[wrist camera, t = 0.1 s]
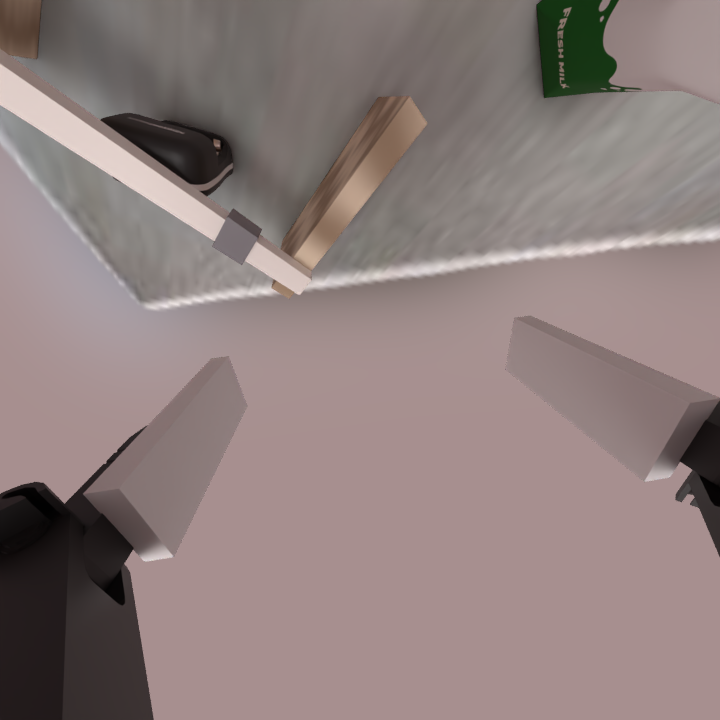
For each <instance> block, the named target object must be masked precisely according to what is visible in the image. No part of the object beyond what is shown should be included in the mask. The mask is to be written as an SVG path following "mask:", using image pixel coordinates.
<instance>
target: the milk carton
mask: <svg viewBox="0 0 720 720" xmlns="http://www.w3.org/2000/svg"><path fill="white" fill-rule="evenodd" d="M537 15H538V27H539V39H540V51H541V63H542V76H543V88H544V98H549V97H558V96H568V95H577V94H586V93H596V92H641V91H684V92H687V93H689V94H692V95H695V96H698V97H701V98H703V99H706V100H709V101H712V102H714V103H717V104H720V0H542V1H541V2H540V3H538V4H537Z"/></svg>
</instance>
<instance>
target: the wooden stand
mask: <svg viewBox="0 0 720 720" xmlns="http://www.w3.org/2000/svg"><path fill="white" fill-rule="evenodd" d="M41 1H42V0H0V49H1V50H3V51H4V52H6V53H7V54H8V55H12V56H19V57H26V58H33V59H37V54H38V41H39V27H40V14H41ZM426 125H427V122H426V120H425V119H424V117H423V116H422V114H421V113H420V111H419V110H418V108H417V107H416V105H415V104H414V102H413V101H412V99H411V97H410V96H399V97H378V99H377V100H376V102H375V103H374V105H373V106H372V108H371V109H370V111H369V112H368V114H367V115H366V117H365V118H364V120H363V121H362V123H361V124H360V126H359V127H358V129H357V130H356V132H355V133H354V135H353V136H352V138H351V139H350V141H349V142H348V144H347V145H346V147H345V148H344V150H343V151H342V153H341V154H340V156H339V157H338V159H337V160H336V162H335V163H334V165H333V166H332V168H331V169H330V171H329V172H328V174H327V175H326V177H325V178H324V180H323V181H322V183H321V184H320V186H319V187H318V189H317V190H316V192H315V193H314V195H313V196H312V198H311V199H310V201H309V202H308V204H307V205H306V206H305V208H304V209H303V211H302V212H301V214H300V215H299V217H298V218H297V220H296V221H295V223H294V224H293V226H292V227H291V229H290V230H289V232H288V233H287V235H286V236H285V238H284V239H283V241H282V246H281V250H282V251H284V252H285V253H286V254H288V255H289V256H291V257H292V258H293V259H295V260H296V261H298V262H299V263H300V264H302V265H303V266H305V267H306V268H307V269H309V270H310V271H312V269H313V268H314V267H315V266H316V264H317V263H318V262H319V261H320V259H321V258H322V257H323V256H324V254H325V253H326V252H327V250H328V249H329V248H330V247H331V245H332V244H333V243H334V242H335V240H336V239H337V238H338V237H339V235H340V234H341V233H342V231H343V230H344V229H345V228H346V226H347V225H348V224H349V223H350V221H351V220H352V219H353V217H354V216H355V215H356V214H357V212H358V211H359V210H360V209H361V207H362V206H363V205H364V204H365V202H366V201H367V200H368V198H369V197H370V196H371V195H372V193H373V192H374V191H375V190H376V188H377V187H378V186H379V185H380V183H381V182H382V181H383V179H384V178H385V177H386V176H387V174H388V173H389V172H390V171H391V169H392V168H393V167H394V166H395V164H396V163H397V162H398V160H399V159H400V158H401V157H402V155H403V154H404V153H405V152H406V150H407V149H408V148H409V146H410V145H411V144H412V143H413V141H414V140H415V139H416V138H417V136H418V135H419V134H420V133H421V131H422V130H423V129H424V127H425V126H426ZM272 289H274V290H276V291H277V292H279V293H280V294H282V295H284V296H285V297H287V298H290V297H291V296H292V295H293V294H294V292H293V291H292V290H290V289H289V288H287V287H286V286H284V285H282V284H281V283H279V282H278V281H276V280H275V279H273V284H272Z"/></svg>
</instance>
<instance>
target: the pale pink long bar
mask: <svg viewBox="0 0 720 720" xmlns="http://www.w3.org/2000/svg"><path fill="white" fill-rule="evenodd" d="M0 105H1V106H3V107H4V108H6V109H8V110H9V111H11V112H12V113H14V114H15V115H17V116H19V117H20V118H22V119H23V120H25V121H26V122H28V123H30V124H31V125H33V126H34V127H36V128H37V129H39V130H41V131H42V132H44V133H45V134H47V135H48V136H50V137H52V138H53V139H55V140H56V141H58V142H59V143H61V144H63V145H64V146H66V147H67V148H69V149H70V150H72V151H74V152H75V153H77V154H78V155H80V156H81V157H83V158H85V159H86V160H88V161H89V162H91V163H92V164H94V165H96V166H97V167H99V168H100V169H102V170H103V171H105V172H107V173H108V174H110V175H111V176H113V177H114V178H116V179H118V180H119V181H121V182H122V183H124V184H125V185H127V186H129V187H130V188H132V189H133V190H135V191H136V192H138V193H140V194H141V195H143V196H144V197H146V198H147V199H149V200H150V201H152V202H154V203H155V204H157V205H158V206H160V207H161V208H163V209H165V210H166V211H168V212H169V213H171V214H172V215H174V216H176V217H177V218H179V219H180V220H182V221H183V222H185V223H187V224H188V225H190V226H191V227H193V228H194V229H196V230H198V231H199V232H201V233H202V234H204V235H205V236H207V237H209V238H210V239H212V240H213V241H214V243H213V245H212V247H214V248H215V249H217V250H219V251H220V252H222V253H223V254H225V255H227V256H228V257H230V258H231V259H233V260H235V261H236V262H238V263H239V264H241V265H242V264H243V262H244V261H246V262H248V263H249V264H251V265H253V266H254V267H256V268H257V269H259V270H260V271H262V272H264V273H265V274H267V275H268V276H270V277H271V278H273V279H275V280H276V281H278V282H279V283H281V284H282V285H284V286H286V287H287V288H289V289H290V290H292V291H293V292H295V293H297V294H298V295H300V294H301V293H302V291H303V290H304V289H305V288H306V286H307V285H308V284H309V283H310V281H311V280H312V271H310V270H309V269H307V268H306V267H305V266H303V265H302V264H300V263H299V262H298V261H296V260H295V259H293V258H292V257H291V256H289V255H288V254H286V253H285V252H284V251H282V250H281V249H279V248H278V247H277V246H275V245H274V244H272V243H271V242H270V241H268V240H267V239H265V238H264V237H263V236H261V235H260V233H261V230H262V229H261V228H259V227H258V226H257V225H255V224H254V223H253V222H251V221H250V220H248V219H247V218H246V217H244V216H243V215H242V214H240V213H239V212H237V211H236V210H235V209H233V210H232V211H231V212H230V213H229V212H228V211H226V210H225V209H224V208H222V207H221V206H219V205H218V204H217V203H215V202H214V201H212V200H211V199H210V198H208V197H207V196H205V195H204V194H203V193H201V192H200V191H198V190H197V189H196V188H194V187H193V186H191V185H190V184H189V183H187V182H186V181H184V180H183V179H182V178H180V177H179V176H177V175H176V174H175V173H173V172H172V171H170V170H169V169H168V168H166V167H165V166H163V165H162V164H161V163H159V162H158V161H156V160H155V159H154V158H152V157H151V156H149V155H148V154H147V153H145V152H144V151H142V150H141V149H140V148H138V147H137V146H135V145H134V144H133V143H131V142H130V141H128V140H127V139H126V138H124V137H123V136H122V135H120V134H119V133H117V132H116V131H115V130H113V129H112V128H110V127H109V126H108V125H106V124H105V123H103V122H102V121H101V120H99V119H98V118H96V117H95V116H94V115H92V114H91V113H89V112H88V111H87V110H85V109H84V108H82V107H81V106H80V105H78V104H77V103H75V102H74V101H73V100H71V99H70V98H68V97H67V96H66V95H64V94H63V93H61V92H60V91H59V90H57V89H56V88H54V87H53V86H52V85H50V84H49V83H47V82H46V81H45V80H43V79H42V78H40V77H39V76H38V75H36V74H35V73H33V72H32V71H31V70H29V69H28V68H26V67H25V66H24V65H22V64H21V63H20V62H18V61H17V60H15V59H14V58H13V57H11V56H10V55H8V54H7V53H6V52H4V51H3V50H1V49H0Z"/></svg>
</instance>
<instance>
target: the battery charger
mask: <svg viewBox="0 0 720 720" xmlns="http://www.w3.org/2000/svg"><path fill="white" fill-rule="evenodd" d="M101 121H102V122H103V123H105V124H106V125H108V126H109V127H110V128H112V129H113V130H115V131H116V132H117V133H119V134H120V135H122V136H123V137H124V138H126V139H127V140H128V141H130V142H131V143H133V144H134V145H135V146H137V147H138V148H140V149H141V150H142V151H144V152H145V153H147V154H148V155H149V156H151V157H152V158H154V159H155V160H156V161H158V162H159V163H161V164H162V165H163V166H165V167H166V168H168V169H169V170H170V171H172V172H173V173H175V174H176V175H177V176H179V177H180V178H182V179H183V180H184V181H186V182H187V183H189V184H190V185H191V186H193V187H194V188H196V189H197V190H198V191H200V192H201V193H203V194H204V195H205V196H209V195H210V194H211V193H213V192H214V191H215V190H216V189H217V188H218V187H219V186H220V185H221V184H222V182H223V181H224V180H225V179H226V178H227V177H228V176H229V175H231V174H232V171H233V170H232V168H233V163H232V155H231V151H230V148H229V145H228V143H227V142H226V140H225V139H224V138H222V137H221V136H218V135H216V134H213V133H210V132H206V131H203V130H199V129H196V128H193V127H189V126H186V125H183V124H179V123H176V122H172V121H167V120H164V121H161V122H160V121H157V120H155V119H151V118H148V117H144V116H141V115H137V114H133V113H124V114H118V115H114V116H109V117H105V118H103V119H101ZM112 177H113V176H112ZM113 178H114V177H113ZM114 179H116V178H114ZM116 180H117V181H119V180H118V179H116ZM119 182H121V181H119Z"/></svg>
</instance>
